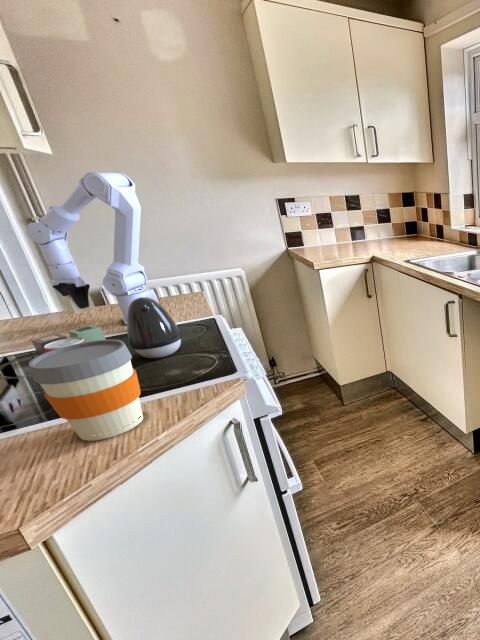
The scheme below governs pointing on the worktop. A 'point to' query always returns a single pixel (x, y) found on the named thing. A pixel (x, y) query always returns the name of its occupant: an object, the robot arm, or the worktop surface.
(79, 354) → the reusable coffee cup
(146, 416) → the worktop surface
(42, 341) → the block
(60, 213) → the robot arm
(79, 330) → the block
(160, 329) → the black egg shaped device
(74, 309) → the block
